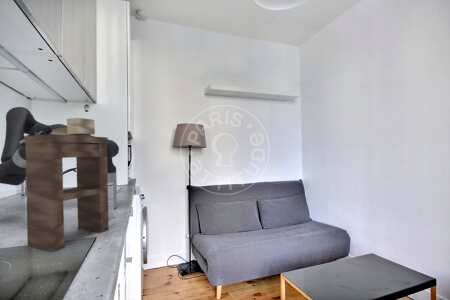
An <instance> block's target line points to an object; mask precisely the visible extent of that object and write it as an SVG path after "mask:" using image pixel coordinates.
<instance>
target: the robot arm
mask: <svg viewBox="0 0 450 300" xmlns="http://www.w3.org/2000/svg"><path fill="white" fill-rule="evenodd" d="M5 114H6V115H5V139H4V144H3V148H2V152H1V156H0V162H1V163H0V184H3V185H10V186H20V185H22V184H23V183H24V182H25V181H26V143H24V136H25V134H26V136H34V135H48V134H50V133H51V132H52V129H58V128H67V124H62V123H61V124H60V123H56V124H50V125H49V124H44V123H42V122H40V121H38V120H36V119H35V117H34V115H33V114H32V113H31V111H30V110H29V109H28V108H27V107H23V106H15V107H12V108H10V109H9V110H8V111H7V112H6V113H5ZM74 136H92V137H96V136H94V135H93V134H92V135H74ZM119 151H120V147H119V145H118V144H117V142H115V141H114V140H113V139H108V143H107V178H108V183H113V199H114V210H115V209H117V208H118V194H117V193H118V188H117V187H118V186H117V183H118V182H117V180H118V179H117V167H116V165H115V164H114V162H113V158H114V157H116V156H117V155H118V154H119V153H120V152H119Z"/></svg>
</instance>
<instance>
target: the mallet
mask: <svg viewBox="0 0 450 300" xmlns="http://www.w3.org/2000/svg"><path fill="white" fill-rule="evenodd" d="M66 126H67V128H58V129H52V132H51V133H50V134H57V135H92V136H93V135H96V129H95V126H96V125H95V119H92V118H82V117H71V118H66Z"/></svg>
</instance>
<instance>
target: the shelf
mask: <svg viewBox="0 0 450 300" xmlns="http://www.w3.org/2000/svg"><path fill="white" fill-rule="evenodd" d="M92 136H93V135H92ZM92 136H74V135H57V134H48V135H34V136H27V135H24V143H26V179H25V181H26V182H25V186H26V227H27V228H26V229H27V248H32V249H35V250H41V251H46V252H51V253H55V252H56V251H59V250H62V249H64V248H65V224H64V223H65V217H64V214H65V213H64V212H65V211H64V202H65V201H70V200H74V199H75V200H77V201H76V202H77V204H76V205H77V230H80V231H88V232H93V233H99V234H101V233H104V232H106V231H109V230H110V228H109V219H108V178H107V143H108V140H109V137H106V136H95V137H92ZM66 158H67V159H68V158H76V159H75V160H76V187H70V188H64V179H63V178H64V177H63V176H64V175H63V172H64V171H63V170H64V169H63V163H64V162H63V159H66Z"/></svg>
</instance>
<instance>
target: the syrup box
mask: <svg viewBox="0 0 450 300" xmlns="http://www.w3.org/2000/svg"><path fill="white" fill-rule="evenodd" d="M114 210H115V209H114V199H113V183H108V220H110V219H113V218H114V217H115V216H114V215H115V214H114V213H115V212H114Z"/></svg>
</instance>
